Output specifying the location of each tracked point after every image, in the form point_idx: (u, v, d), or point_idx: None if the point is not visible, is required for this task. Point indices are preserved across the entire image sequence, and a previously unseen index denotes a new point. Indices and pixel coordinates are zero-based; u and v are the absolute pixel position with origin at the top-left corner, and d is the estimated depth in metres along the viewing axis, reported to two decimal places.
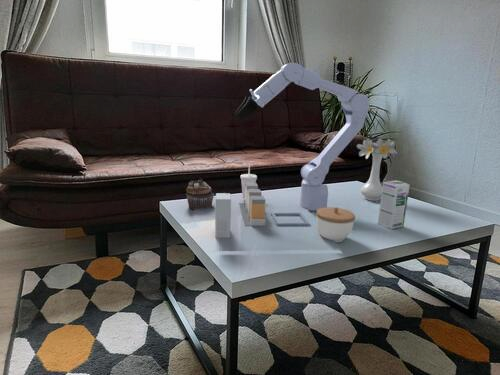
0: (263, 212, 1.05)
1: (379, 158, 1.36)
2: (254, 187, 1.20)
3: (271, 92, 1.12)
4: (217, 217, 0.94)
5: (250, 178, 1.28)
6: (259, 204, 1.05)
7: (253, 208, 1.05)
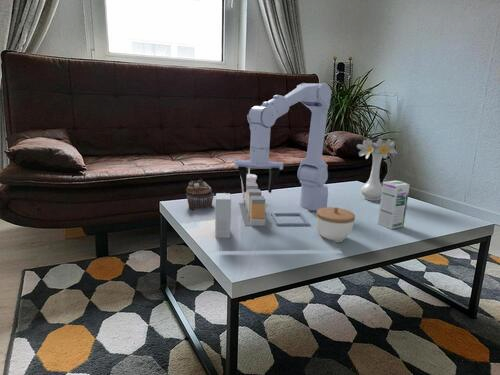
0: (263, 212, 1.05)
1: (379, 158, 1.36)
2: (254, 187, 1.20)
3: None
4: (217, 217, 0.94)
5: (250, 178, 1.28)
6: (259, 204, 1.05)
7: (253, 208, 1.05)
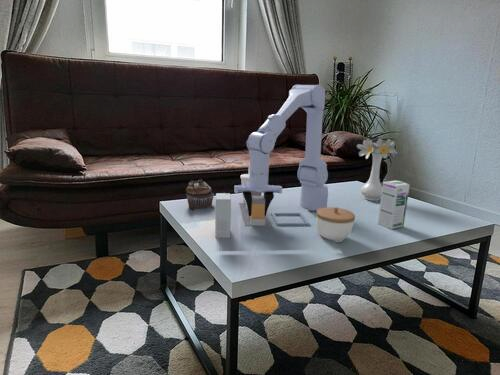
0: (263, 212, 1.05)
1: (379, 158, 1.36)
2: None
3: None
4: (217, 217, 0.94)
5: None
6: (259, 204, 1.05)
7: (253, 208, 1.05)
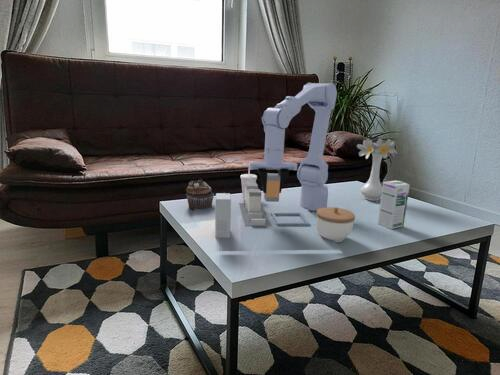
0: (278, 189, 1.05)
1: (379, 158, 1.36)
2: (254, 187, 1.20)
3: None
4: (217, 217, 0.94)
5: (250, 178, 1.28)
6: (274, 181, 1.04)
7: (268, 184, 1.04)
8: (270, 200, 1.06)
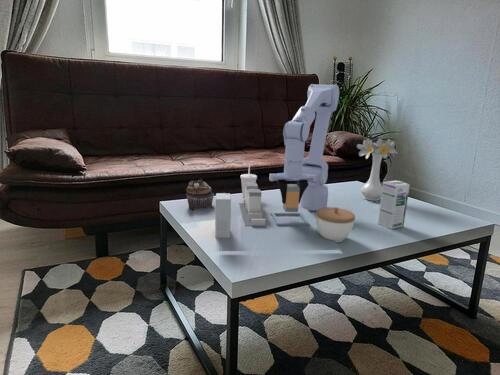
0: (297, 200, 1.08)
1: (379, 158, 1.36)
2: (254, 187, 1.20)
3: None
4: (217, 217, 0.94)
5: (250, 178, 1.28)
6: (294, 192, 1.07)
7: (288, 195, 1.07)
8: (289, 210, 1.08)
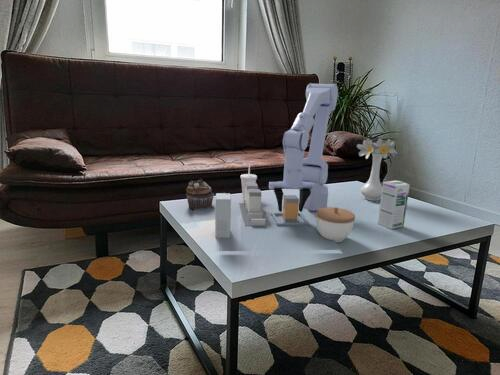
0: (296, 211, 1.09)
1: (379, 158, 1.36)
2: (254, 187, 1.20)
3: None
4: (217, 217, 0.94)
5: (250, 178, 1.28)
6: (293, 203, 1.08)
7: (287, 207, 1.08)
8: (289, 221, 1.09)
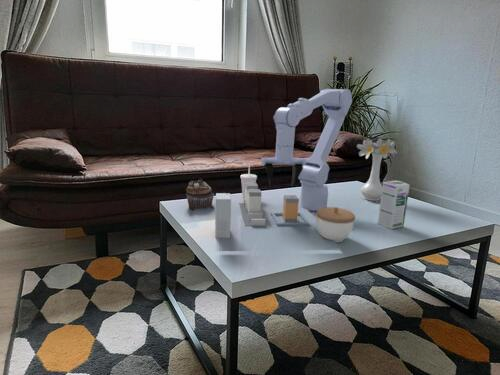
0: (296, 211, 1.09)
1: (379, 158, 1.36)
2: (254, 187, 1.20)
3: None
4: (217, 217, 0.94)
5: (250, 178, 1.28)
6: (293, 203, 1.08)
7: (287, 207, 1.08)
8: (289, 221, 1.09)
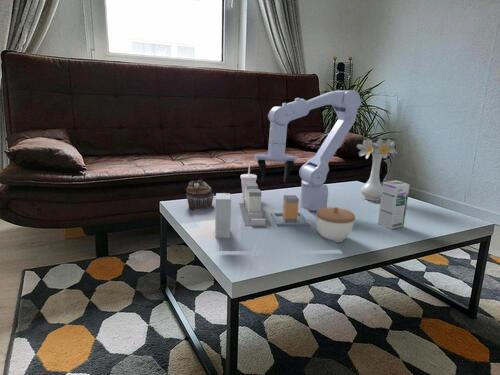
0: (296, 211, 1.09)
1: (379, 158, 1.36)
2: (254, 187, 1.20)
3: None
4: (217, 217, 0.94)
5: (250, 178, 1.28)
6: (293, 203, 1.08)
7: (287, 207, 1.08)
8: (289, 221, 1.09)
